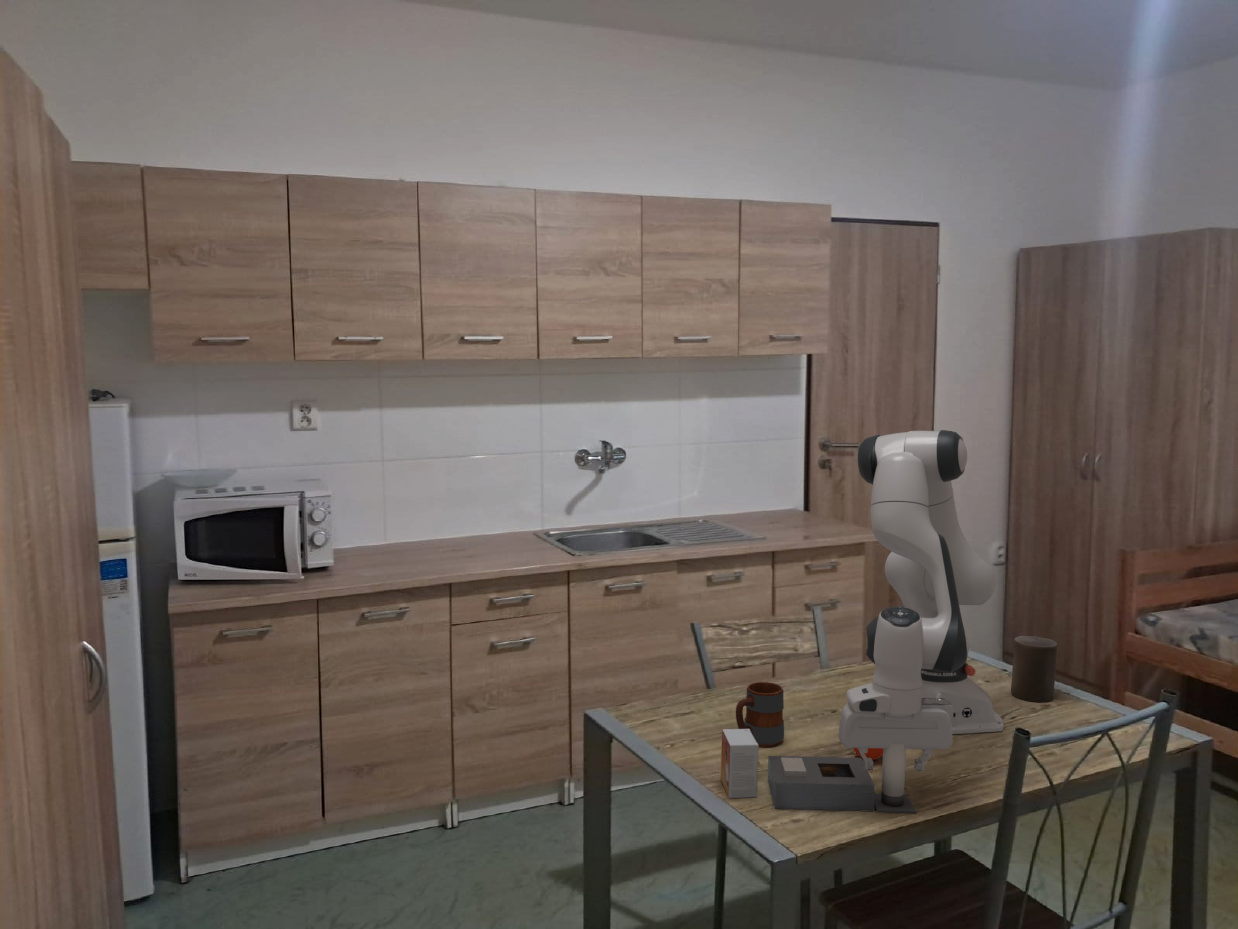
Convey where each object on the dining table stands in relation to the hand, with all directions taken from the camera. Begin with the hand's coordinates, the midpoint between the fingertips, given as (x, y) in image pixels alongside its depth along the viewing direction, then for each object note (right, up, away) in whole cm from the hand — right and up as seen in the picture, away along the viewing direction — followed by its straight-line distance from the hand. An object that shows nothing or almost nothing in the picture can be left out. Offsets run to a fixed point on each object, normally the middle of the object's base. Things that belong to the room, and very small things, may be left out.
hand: (893, 769), depth 185 cm
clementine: (+1, -4, +22) cm, 22 cm away
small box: (-28, -6, +7) cm, 29 cm away
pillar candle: (+50, 0, +59) cm, 77 cm away
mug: (-21, -3, +29) cm, 36 cm away
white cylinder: (0, -6, +1) cm, 6 cm away
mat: (0, -7, +1) cm, 7 cm away
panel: (-13, -6, +4) cm, 15 cm away
